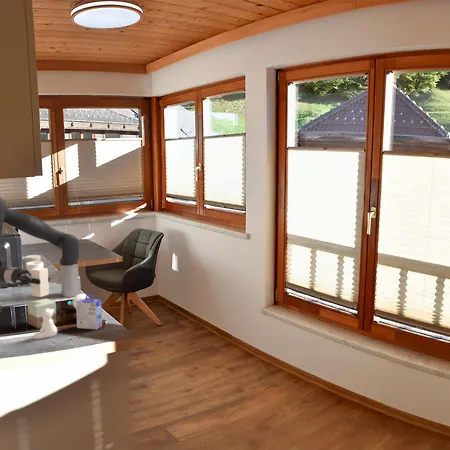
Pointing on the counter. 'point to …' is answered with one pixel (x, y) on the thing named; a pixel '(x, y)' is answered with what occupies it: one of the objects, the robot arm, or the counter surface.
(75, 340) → the counter surface
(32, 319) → the tower base slab
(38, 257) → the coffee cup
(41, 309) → the tower top slab
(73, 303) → the perfume bottle
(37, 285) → the cream block
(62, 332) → the counter surface
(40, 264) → the foam cup
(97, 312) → the ink cartridge box
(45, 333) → the white creature statuette
